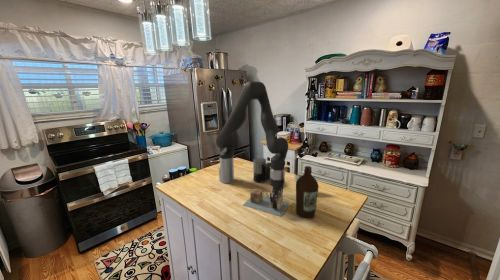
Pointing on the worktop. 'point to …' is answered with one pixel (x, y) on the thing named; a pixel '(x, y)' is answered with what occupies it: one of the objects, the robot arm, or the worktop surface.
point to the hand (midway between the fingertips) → (276, 205)
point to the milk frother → (261, 170)
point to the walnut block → (256, 196)
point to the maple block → (278, 202)
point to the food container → (298, 177)
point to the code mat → (266, 206)
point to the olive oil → (306, 194)
